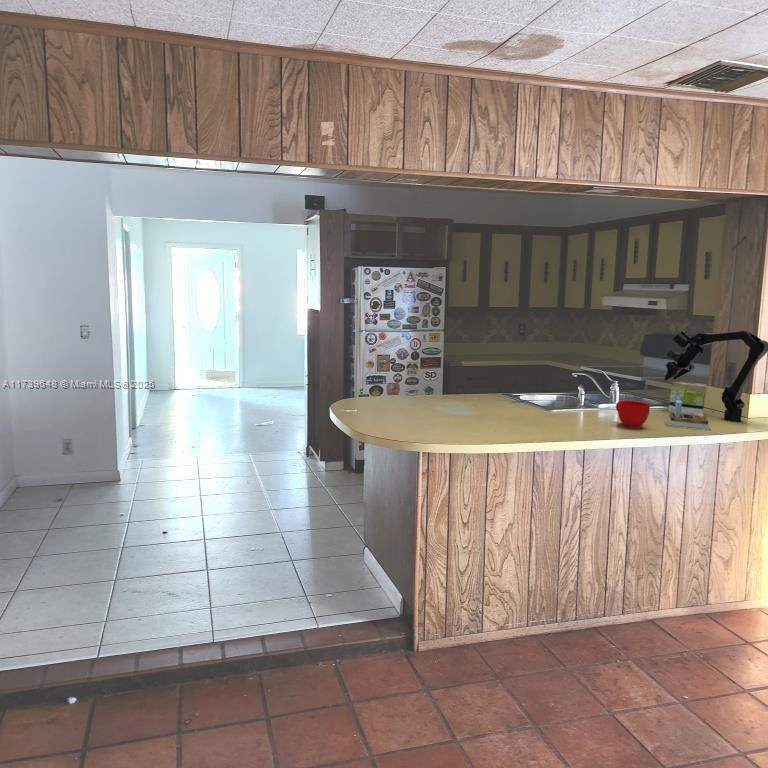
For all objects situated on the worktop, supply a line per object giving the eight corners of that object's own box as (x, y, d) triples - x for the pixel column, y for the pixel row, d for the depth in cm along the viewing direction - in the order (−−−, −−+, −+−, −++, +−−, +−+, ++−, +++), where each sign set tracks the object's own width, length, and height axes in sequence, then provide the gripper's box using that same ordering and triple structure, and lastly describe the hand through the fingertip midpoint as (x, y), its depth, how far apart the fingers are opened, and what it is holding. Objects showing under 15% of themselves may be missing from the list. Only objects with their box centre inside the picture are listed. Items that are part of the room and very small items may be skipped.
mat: (708, 426, 294) (708, 424, 294) (710, 431, 285) (711, 429, 285) (664, 422, 300) (664, 420, 300) (665, 426, 291) (665, 424, 291)
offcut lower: (702, 419, 306) (702, 416, 305) (703, 422, 299) (703, 419, 299) (692, 418, 307) (692, 415, 307) (693, 421, 300) (694, 418, 300)
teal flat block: (678, 417, 309) (680, 400, 307) (679, 420, 302) (681, 403, 301) (674, 417, 309) (676, 400, 308) (675, 419, 303) (677, 402, 302)
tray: (704, 420, 307) (705, 416, 307) (707, 425, 296) (708, 421, 296) (669, 416, 312) (670, 412, 312) (671, 421, 301) (671, 417, 301)
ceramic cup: (626, 420, 301) (629, 398, 299) (654, 429, 285) (657, 406, 283) (603, 421, 296) (605, 399, 294) (630, 430, 280) (632, 407, 279)
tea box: (667, 412, 323) (671, 382, 320) (669, 409, 332) (673, 380, 329) (702, 417, 316) (706, 386, 314) (703, 413, 325) (707, 383, 322)
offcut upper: (701, 416, 305) (702, 413, 305) (703, 419, 299) (703, 416, 299) (693, 416, 306) (693, 412, 306) (694, 418, 301) (695, 415, 300)
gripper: (685, 343, 331) (666, 367, 339) (667, 345, 319) (648, 370, 327) (703, 358, 325) (683, 382, 333) (686, 360, 313) (665, 385, 321)
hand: (669, 379), depth 329 cm, fingers open, 9 cm apart
